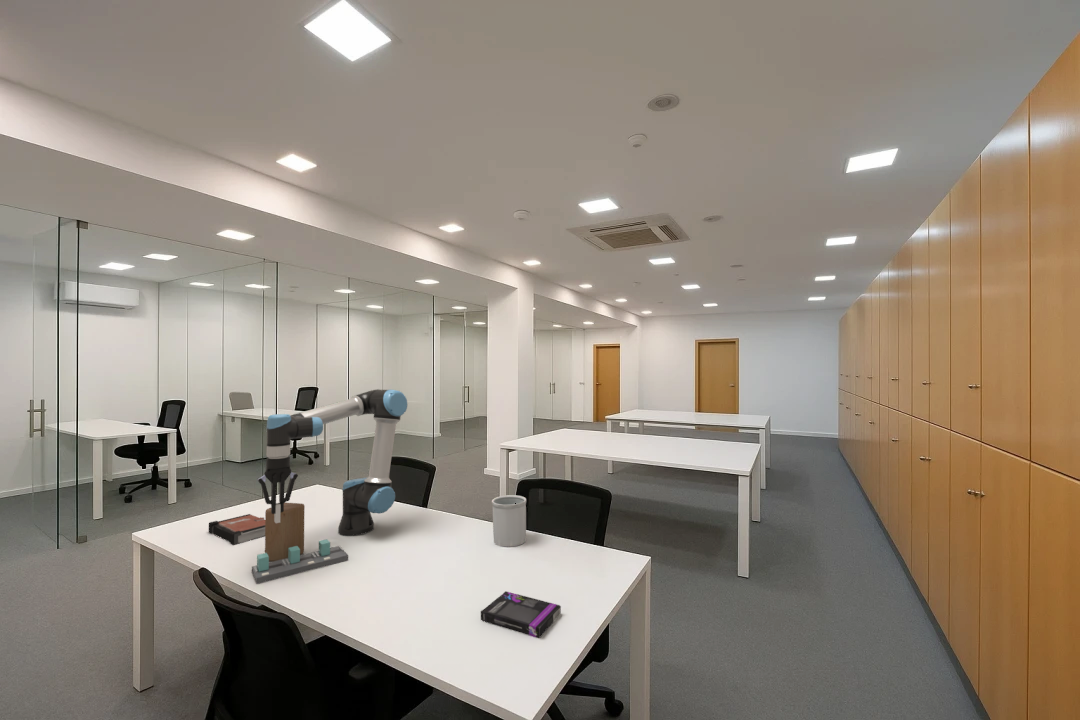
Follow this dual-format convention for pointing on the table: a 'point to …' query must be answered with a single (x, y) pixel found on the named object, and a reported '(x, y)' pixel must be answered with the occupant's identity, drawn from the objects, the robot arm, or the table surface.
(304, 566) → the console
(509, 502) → the utensil holder
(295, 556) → the slider
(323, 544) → the slider
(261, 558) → the slider
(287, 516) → the wooden block
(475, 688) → the table surface
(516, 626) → the box
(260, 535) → the book
